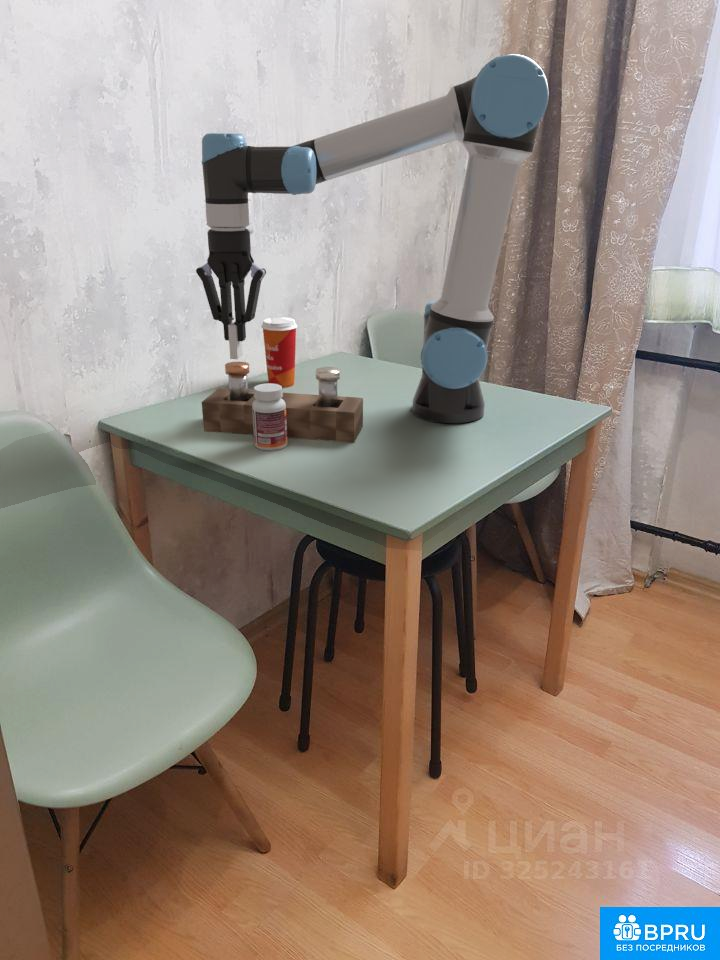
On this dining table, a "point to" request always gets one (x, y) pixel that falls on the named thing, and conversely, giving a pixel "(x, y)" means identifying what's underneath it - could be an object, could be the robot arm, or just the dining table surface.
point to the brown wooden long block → (287, 416)
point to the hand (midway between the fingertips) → (236, 357)
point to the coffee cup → (280, 350)
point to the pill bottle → (269, 417)
